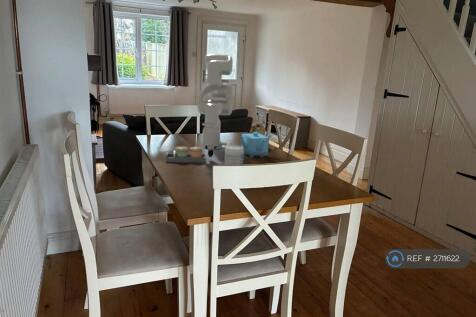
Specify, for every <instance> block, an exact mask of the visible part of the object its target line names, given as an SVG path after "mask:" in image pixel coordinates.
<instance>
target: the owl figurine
mask: <svg viewBox="0 0 476 317" xmlns="http://www.w3.org/2000/svg"><path fill="white" fill-rule="evenodd" d="M253 132H258V133H259V134H262V135H264V136H266V128H265V127H264V125H263V123H262V122H261V121H258V122H256V123H253V124H252V125H251V128H250V130H249V133H248V134H253Z"/></svg>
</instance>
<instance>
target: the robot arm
mask: <svg viewBox="0 0 476 317" xmlns="http://www.w3.org/2000/svg"><path fill="white" fill-rule="evenodd" d="M233 61H234V60H233V57H232V55H230V54H219V53H209V54H206V55H205V56H204V66H205V68H206V72H207V73H206V84H205V85H204V86H203V87H202V89H201V90H200V92H199V93H198V98H197V112H198V113H199V114H201V115H204V122H203V123H202V124H201V126H203V129H202V135H201V136H202V137H201V146H200V147H201V148H204V149H206V150H207V156H208V158H213V156H214V151H215V150H221V149H223V146H228V142H227V141H226V142H225V141H221V123H222V122H221V120H220V117H219V116H231V114H232V111H233V100H234V99H233V97H234V96H233V94H234V93H233V92H234V90H233V85H232V84H231V83H228V82H226V83H225V82H223V81H222V80H223V77H222V76H230V75H231V74H232V72H233V63H234V62H233ZM207 94H208V97H210V98H216V99H209V100H204V97H206V95H207ZM217 98H218V99H217Z"/></svg>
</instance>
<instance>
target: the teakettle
mask: <svg viewBox="0 0 476 317" xmlns="http://www.w3.org/2000/svg"><path fill="white" fill-rule="evenodd" d="M272 136H273V134H269V135H267V136H266V135H262V134H259V133H258V132H253V134H249V133H242V134H241V135H237V137H238V138H239V139H240V143H241V146H242V147H243V148H244V155H246V156H249V157H248V158H250V159H253V158H255V157H256V156H258V157H260V158H265V156H269V147H270V146H269V145H270V144H269V143H270V138H271V137H272Z"/></svg>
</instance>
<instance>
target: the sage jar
mask: <svg viewBox="0 0 476 317" xmlns="http://www.w3.org/2000/svg"><path fill="white" fill-rule="evenodd" d="M174 148H175V157H180V158H188V154H189V147H188V146H175V147H174Z"/></svg>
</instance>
